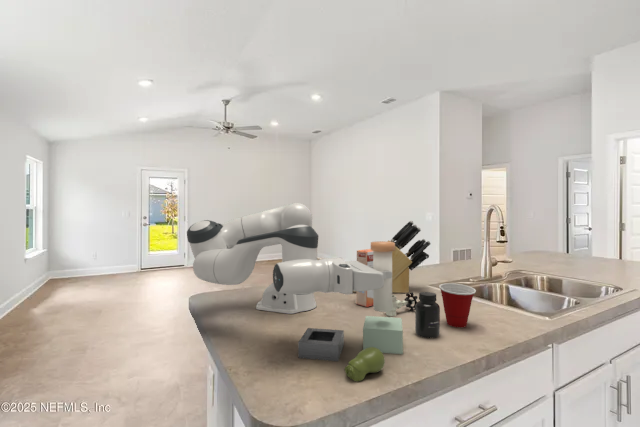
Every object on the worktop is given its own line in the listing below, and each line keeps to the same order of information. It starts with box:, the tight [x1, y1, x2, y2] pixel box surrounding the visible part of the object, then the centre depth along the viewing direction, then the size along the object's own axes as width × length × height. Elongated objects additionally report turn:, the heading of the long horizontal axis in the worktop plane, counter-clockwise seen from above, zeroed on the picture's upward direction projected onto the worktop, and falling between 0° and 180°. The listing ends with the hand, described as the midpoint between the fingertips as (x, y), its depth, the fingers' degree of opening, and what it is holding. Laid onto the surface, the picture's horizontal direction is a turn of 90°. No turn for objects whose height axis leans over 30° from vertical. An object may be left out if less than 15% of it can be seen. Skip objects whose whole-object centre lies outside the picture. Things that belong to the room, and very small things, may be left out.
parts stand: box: [362, 315, 404, 355], centre depth 92 cm, size 10×10×6 cm
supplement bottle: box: [414, 291, 441, 339], centre depth 99 cm, size 7×7×12 cm
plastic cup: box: [438, 282, 477, 329], centre depth 107 cm, size 11×11×12 cm
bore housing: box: [297, 327, 345, 362], centre depth 89 cm, size 10×10×4 cm
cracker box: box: [356, 248, 373, 308], centre depth 132 cm, size 14×6×21 cm, turn 131°
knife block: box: [353, 220, 431, 294], centre depth 151 cm, size 11×35×31 cm, turn 86°
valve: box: [385, 292, 419, 317], centre depth 120 cm, size 7×7×12 cm
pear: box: [344, 347, 386, 382], centre depth 77 cm, size 6×5×10 cm
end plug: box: [370, 240, 395, 313], centre depth 92 cm, size 6×6×18 cm
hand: (385, 271), depth 92 cm, fingers closed on end plug, 5 cm apart
